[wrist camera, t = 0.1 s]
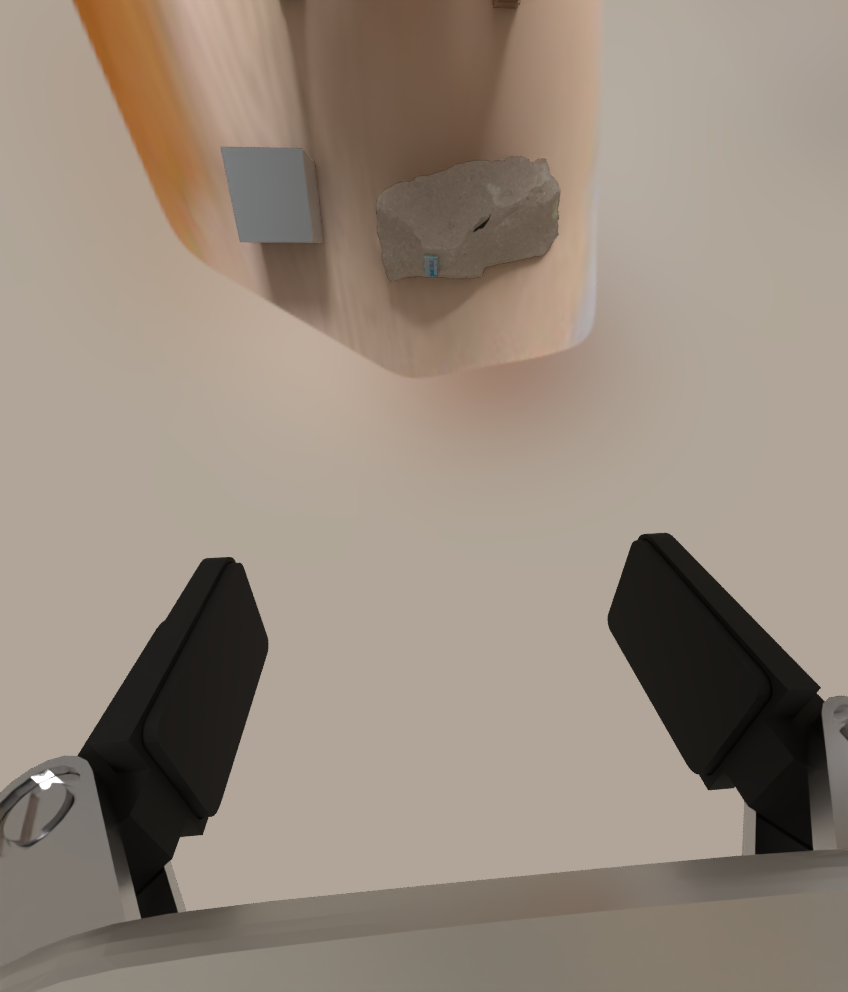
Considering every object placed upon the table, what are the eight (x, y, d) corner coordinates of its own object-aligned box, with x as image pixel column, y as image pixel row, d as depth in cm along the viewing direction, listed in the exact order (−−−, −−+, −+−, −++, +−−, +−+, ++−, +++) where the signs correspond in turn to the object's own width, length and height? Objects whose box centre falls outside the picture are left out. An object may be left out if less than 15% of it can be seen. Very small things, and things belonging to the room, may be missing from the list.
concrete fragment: (549, 266, 34) (577, 270, 29) (387, 289, 34) (386, 297, 29) (554, 160, 30) (588, 142, 25) (372, 185, 30) (368, 173, 25)
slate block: (245, 161, 29) (220, 146, 25) (315, 162, 29) (302, 148, 25) (260, 242, 32) (240, 242, 27) (324, 243, 32) (313, 242, 28)
